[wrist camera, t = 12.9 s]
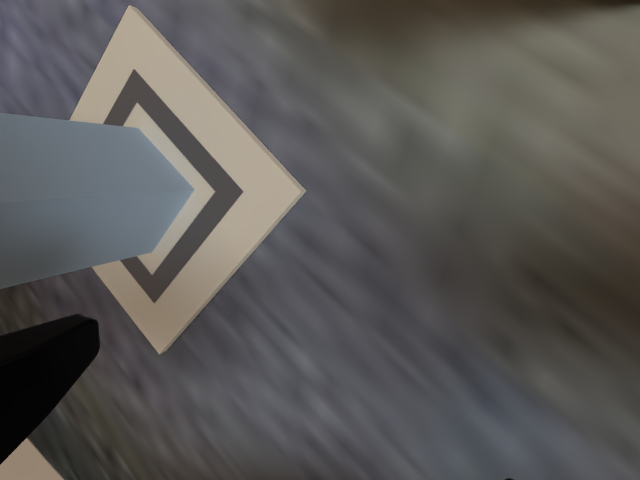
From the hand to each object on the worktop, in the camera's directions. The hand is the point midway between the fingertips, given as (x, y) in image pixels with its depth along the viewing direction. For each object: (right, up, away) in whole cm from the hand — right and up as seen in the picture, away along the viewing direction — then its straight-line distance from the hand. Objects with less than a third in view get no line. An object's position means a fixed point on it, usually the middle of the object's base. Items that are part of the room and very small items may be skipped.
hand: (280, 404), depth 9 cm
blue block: (-9, +6, +15) cm, 19 cm away
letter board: (-9, +6, +16) cm, 19 cm away
